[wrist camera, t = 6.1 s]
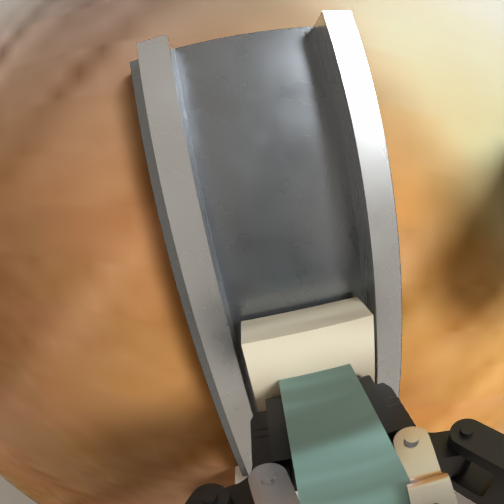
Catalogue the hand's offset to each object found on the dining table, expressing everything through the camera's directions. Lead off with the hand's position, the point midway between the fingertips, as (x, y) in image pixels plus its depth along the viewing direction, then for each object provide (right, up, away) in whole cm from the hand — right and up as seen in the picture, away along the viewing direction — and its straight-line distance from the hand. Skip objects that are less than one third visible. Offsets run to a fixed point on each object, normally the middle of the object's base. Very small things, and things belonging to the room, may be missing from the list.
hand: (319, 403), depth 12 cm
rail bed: (-1, +3, +3) cm, 4 cm away
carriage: (0, +1, +2) cm, 2 cm away
